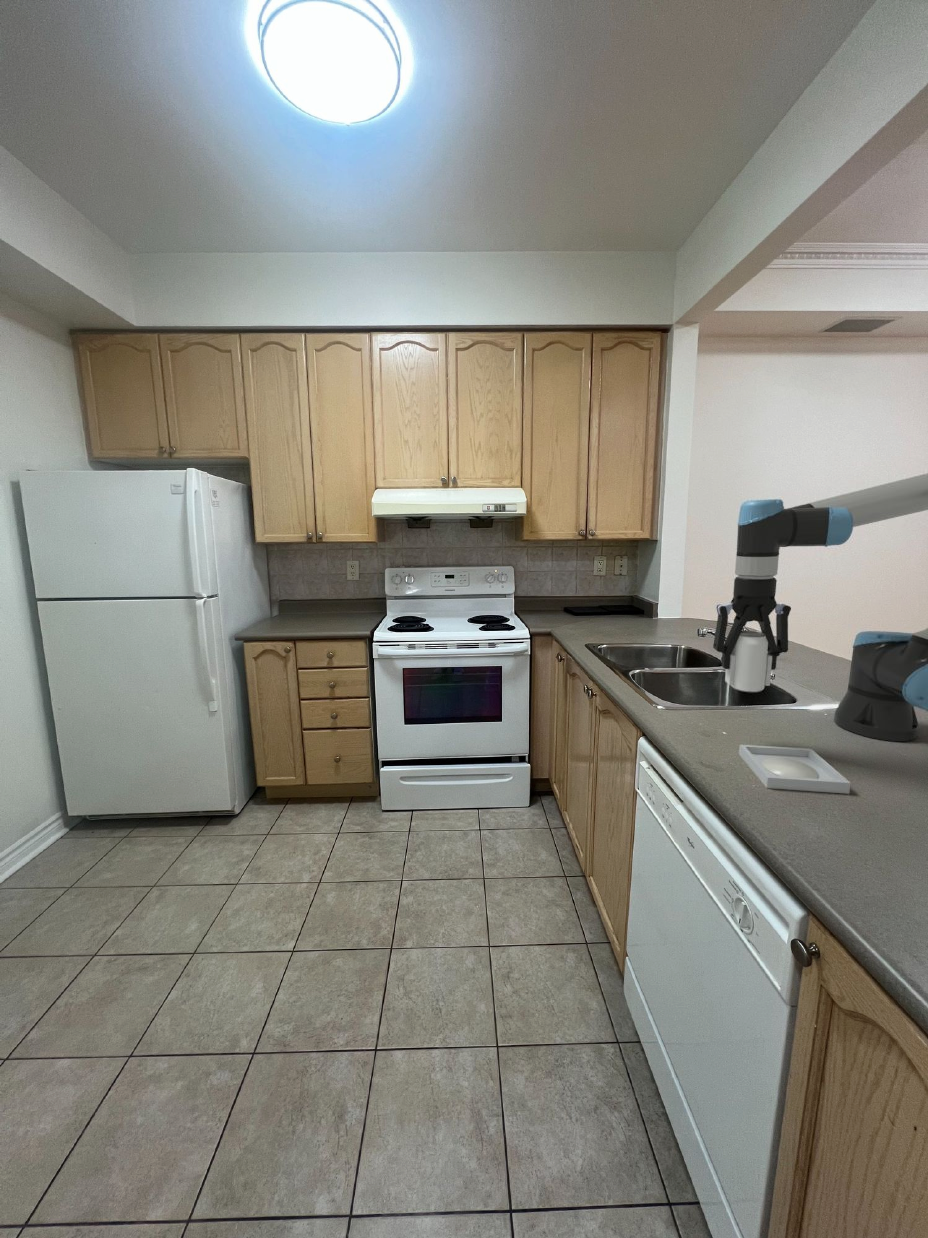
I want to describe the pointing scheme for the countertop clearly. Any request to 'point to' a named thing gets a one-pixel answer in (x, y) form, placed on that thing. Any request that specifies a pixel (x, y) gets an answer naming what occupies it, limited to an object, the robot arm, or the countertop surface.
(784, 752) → the flange tray
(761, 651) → the can
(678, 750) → the countertop surface
